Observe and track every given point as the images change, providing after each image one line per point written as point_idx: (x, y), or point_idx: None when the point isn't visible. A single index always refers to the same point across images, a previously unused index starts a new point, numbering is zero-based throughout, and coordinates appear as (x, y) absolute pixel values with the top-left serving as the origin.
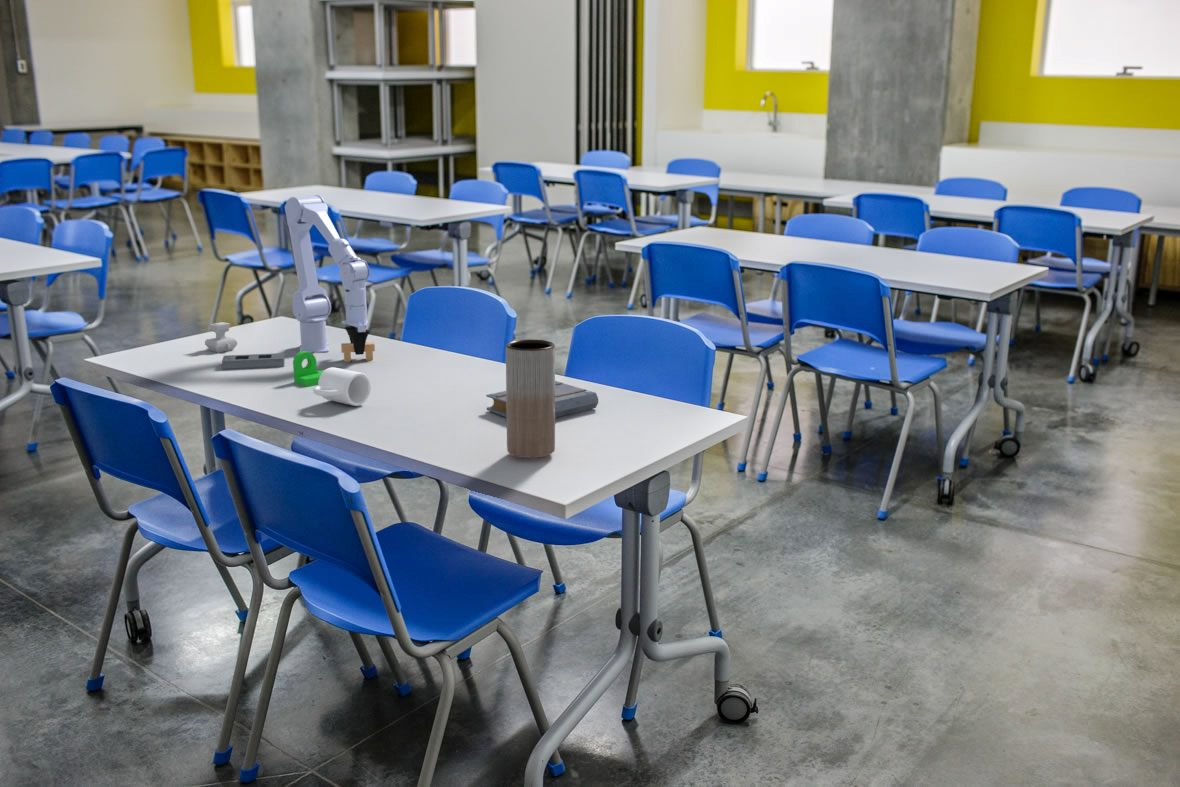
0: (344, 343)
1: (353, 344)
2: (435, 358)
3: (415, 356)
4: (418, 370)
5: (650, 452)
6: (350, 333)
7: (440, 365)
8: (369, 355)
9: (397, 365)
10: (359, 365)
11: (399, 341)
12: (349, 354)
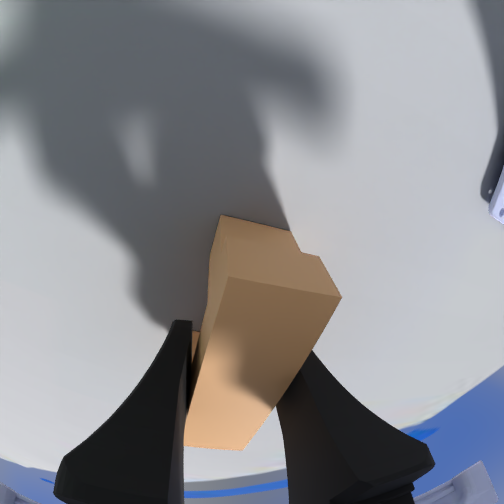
0: (322, 324)
1: (164, 375)
2: None
3: None
4: (28, 399)
5: None
6: (59, 466)
7: None
8: None
9: (94, 393)
10: (121, 280)
11: (424, 419)
12: (209, 284)
